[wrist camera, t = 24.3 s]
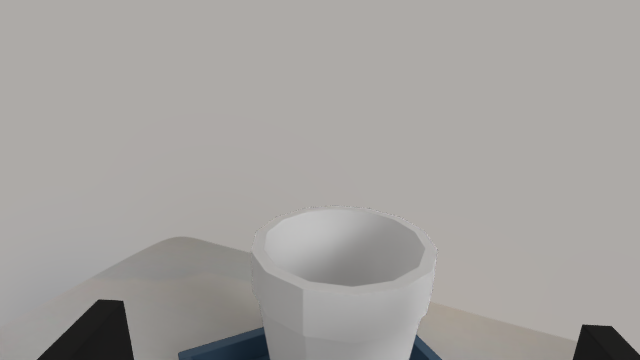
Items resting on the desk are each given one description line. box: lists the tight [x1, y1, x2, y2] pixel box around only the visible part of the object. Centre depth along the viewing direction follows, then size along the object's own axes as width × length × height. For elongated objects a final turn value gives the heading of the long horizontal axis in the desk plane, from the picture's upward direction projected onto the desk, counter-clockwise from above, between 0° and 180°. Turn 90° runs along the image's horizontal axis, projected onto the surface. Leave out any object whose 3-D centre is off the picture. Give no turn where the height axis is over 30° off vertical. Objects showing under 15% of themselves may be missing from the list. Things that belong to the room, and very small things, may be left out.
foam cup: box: [251, 206, 438, 360], centre depth 22 cm, size 10×9×13 cm
